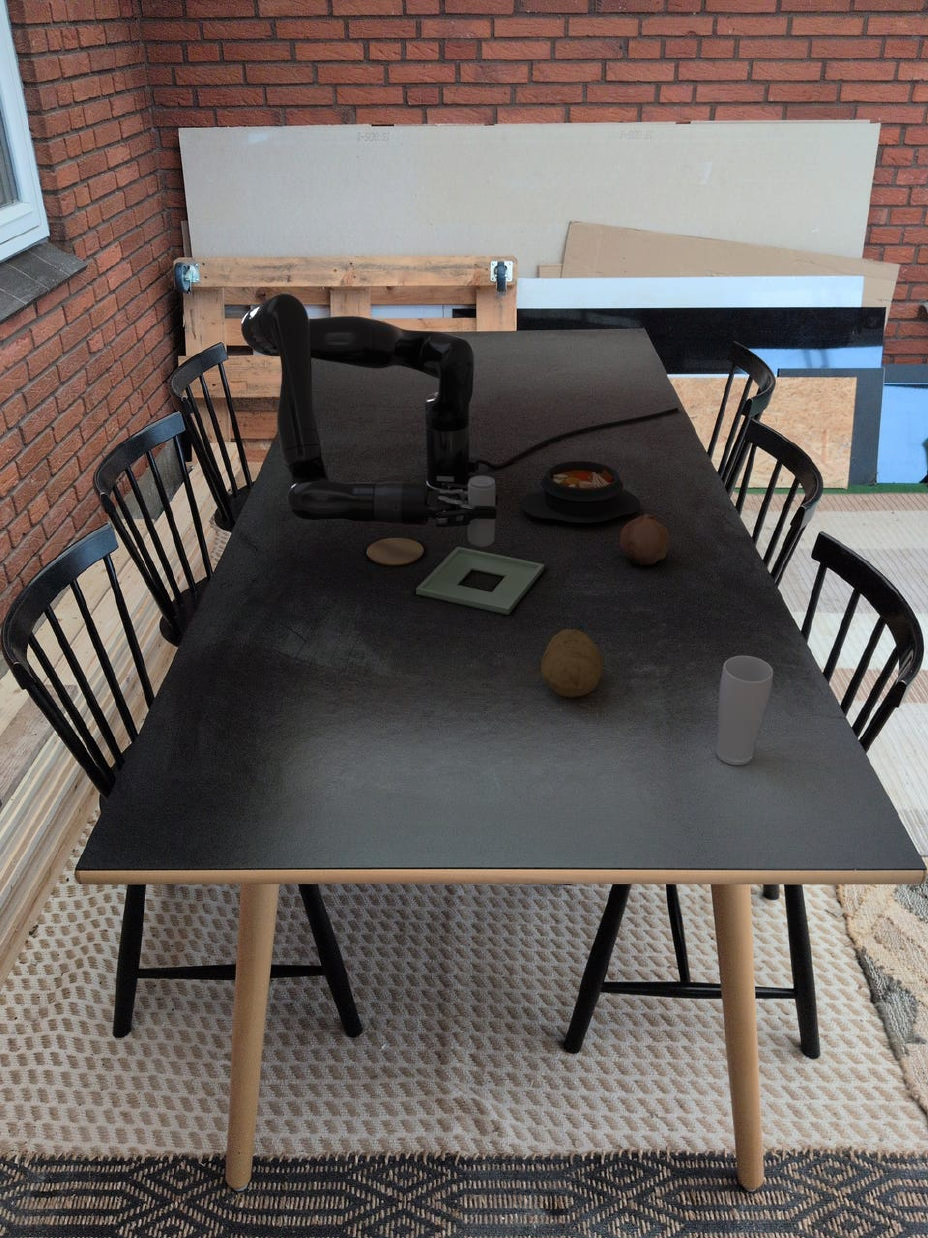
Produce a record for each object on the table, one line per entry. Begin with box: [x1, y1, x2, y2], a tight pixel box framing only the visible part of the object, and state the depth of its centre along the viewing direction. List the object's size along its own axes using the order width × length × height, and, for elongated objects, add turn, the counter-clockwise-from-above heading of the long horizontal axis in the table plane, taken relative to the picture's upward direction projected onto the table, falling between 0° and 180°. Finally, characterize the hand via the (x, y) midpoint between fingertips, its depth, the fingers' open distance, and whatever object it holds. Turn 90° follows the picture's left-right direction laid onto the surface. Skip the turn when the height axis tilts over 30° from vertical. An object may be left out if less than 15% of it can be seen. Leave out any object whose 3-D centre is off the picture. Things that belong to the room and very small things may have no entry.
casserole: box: [520, 460, 641, 524], centre depth 215 cm, size 25×19×8 cm
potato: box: [540, 628, 604, 698], centre depth 161 cm, size 10×14×8 cm
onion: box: [619, 513, 671, 567], centre depth 196 cm, size 10×9×10 cm
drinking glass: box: [714, 655, 774, 766], centre depth 144 cm, size 7×7×15 cm
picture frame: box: [415, 546, 545, 616], centre depth 191 cm, size 18×18×1 cm
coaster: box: [366, 537, 424, 566], centre depth 201 cm, size 11×11×1 cm
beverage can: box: [467, 475, 497, 548], centre depth 184 cm, size 5×5×12 cm
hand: (496, 506), depth 183 cm, fingers closed on beverage can, 4 cm apart
